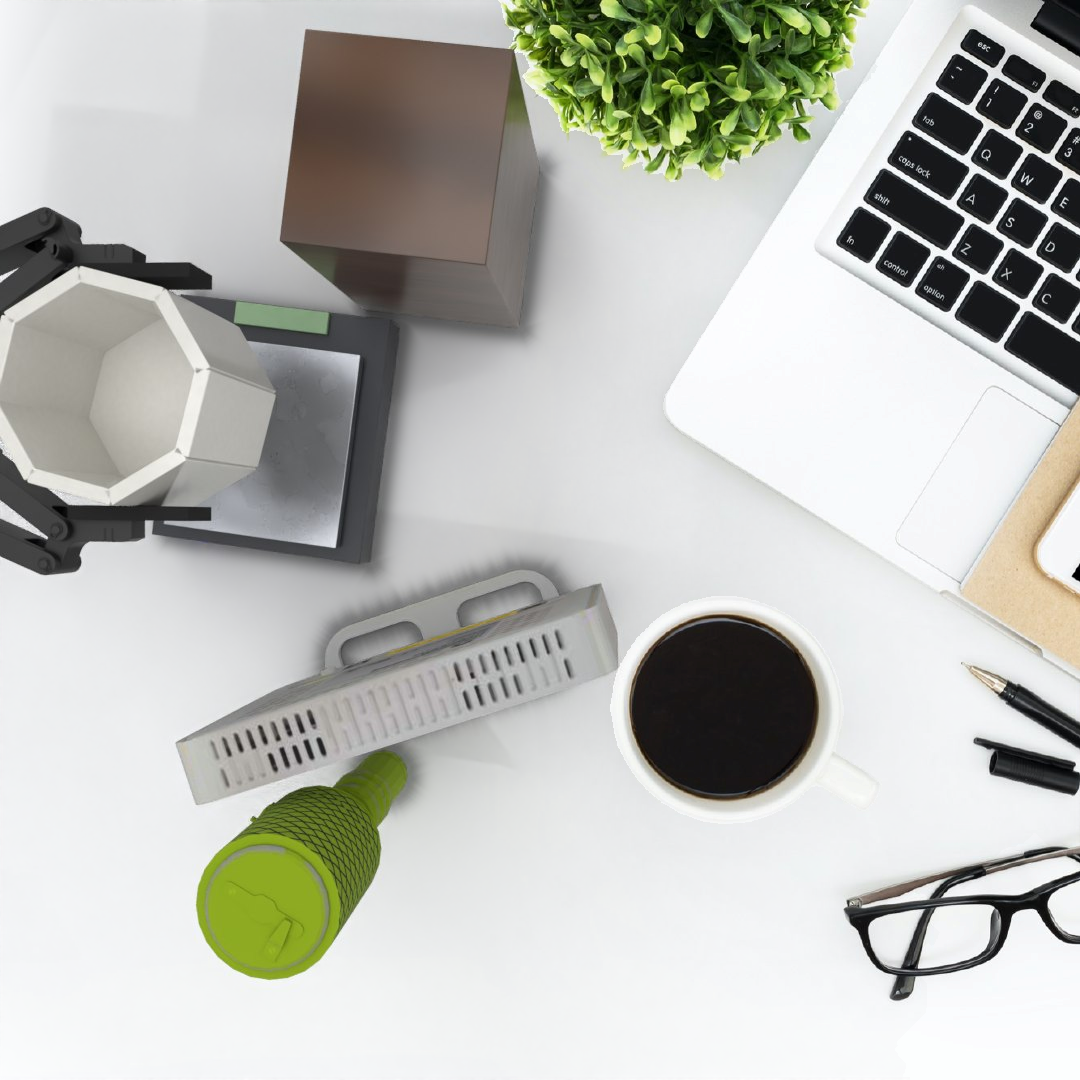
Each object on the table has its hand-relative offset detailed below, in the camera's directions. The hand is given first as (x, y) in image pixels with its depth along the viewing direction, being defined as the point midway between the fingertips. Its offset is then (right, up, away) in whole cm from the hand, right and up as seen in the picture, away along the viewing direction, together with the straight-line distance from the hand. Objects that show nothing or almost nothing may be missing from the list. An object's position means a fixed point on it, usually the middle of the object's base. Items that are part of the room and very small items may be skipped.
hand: (201, 395), depth 49 cm
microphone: (+6, -26, +23) cm, 35 cm away
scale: (-2, +1, +23) cm, 23 cm away
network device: (+11, -16, +22) cm, 30 cm away
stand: (+11, +15, +21) cm, 28 cm away
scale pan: (-2, 0, +19) cm, 20 cm away
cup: (-3, 0, +6) cm, 7 cm away
